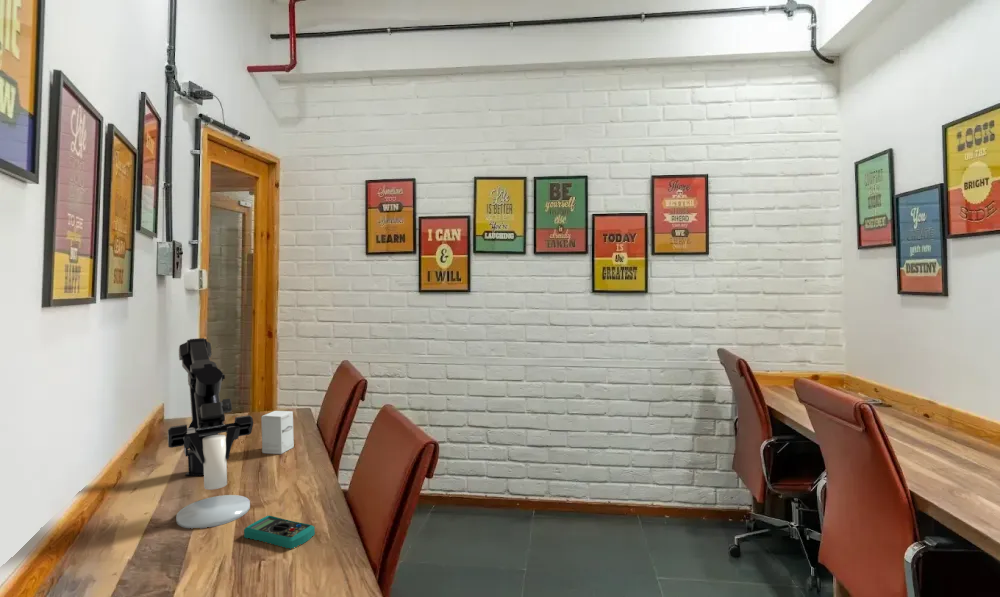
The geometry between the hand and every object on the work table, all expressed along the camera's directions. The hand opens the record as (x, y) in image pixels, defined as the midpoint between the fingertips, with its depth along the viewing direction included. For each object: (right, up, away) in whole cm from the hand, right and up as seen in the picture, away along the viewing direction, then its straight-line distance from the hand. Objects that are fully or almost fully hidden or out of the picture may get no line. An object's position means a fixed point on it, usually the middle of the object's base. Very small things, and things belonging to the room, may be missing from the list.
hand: (215, 460), depth 129 cm
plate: (-1, -13, +1) cm, 14 cm away
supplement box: (-5, -12, +49) cm, 50 cm away
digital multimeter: (+20, -14, -11) cm, 27 cm away
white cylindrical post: (-1, -7, +1) cm, 7 cm away
